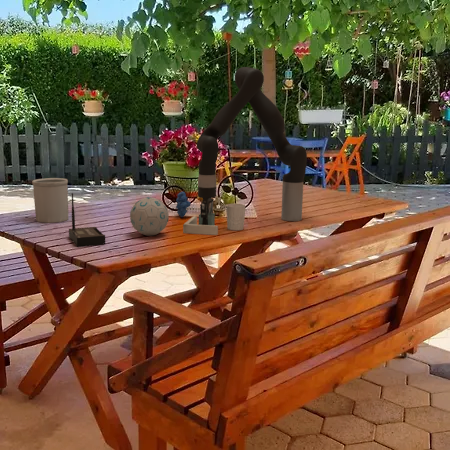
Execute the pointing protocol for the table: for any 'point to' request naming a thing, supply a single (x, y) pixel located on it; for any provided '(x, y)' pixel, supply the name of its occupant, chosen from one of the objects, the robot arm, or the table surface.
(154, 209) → the puzzle ball
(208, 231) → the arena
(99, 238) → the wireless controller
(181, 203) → the grapes
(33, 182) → the utensil holder
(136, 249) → the table surface
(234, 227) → the white cup
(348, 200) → the table surface
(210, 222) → the teal block
